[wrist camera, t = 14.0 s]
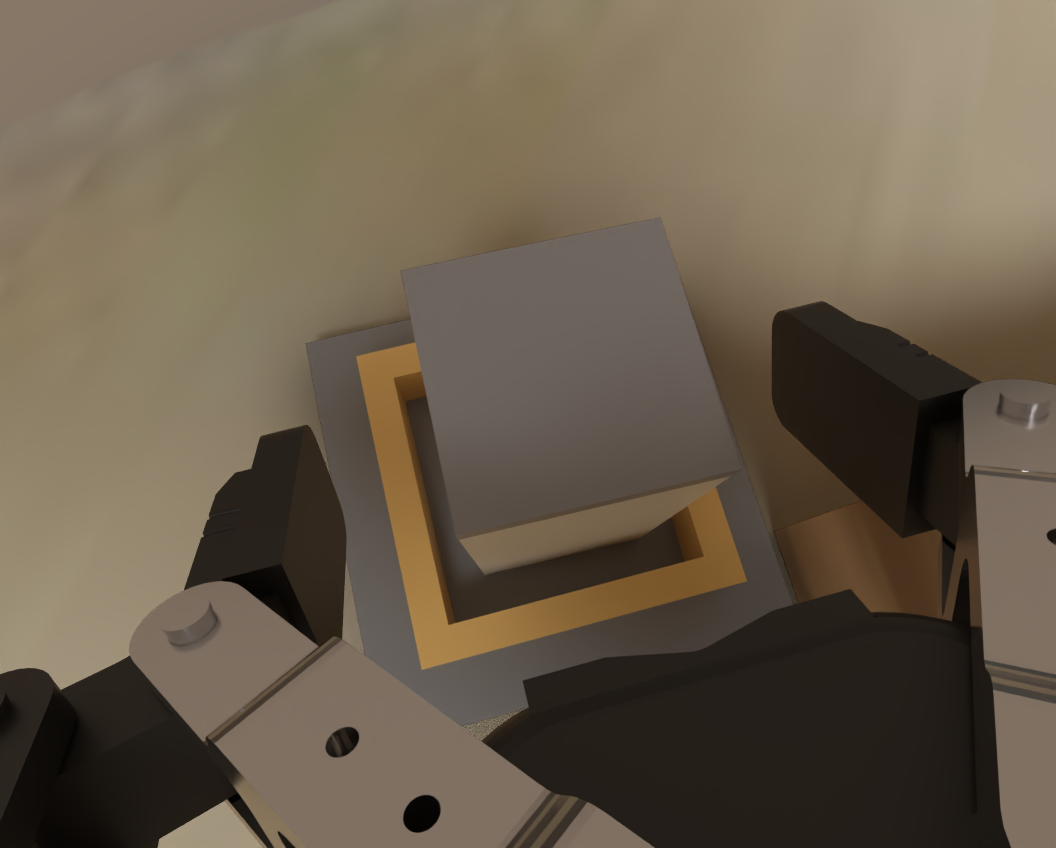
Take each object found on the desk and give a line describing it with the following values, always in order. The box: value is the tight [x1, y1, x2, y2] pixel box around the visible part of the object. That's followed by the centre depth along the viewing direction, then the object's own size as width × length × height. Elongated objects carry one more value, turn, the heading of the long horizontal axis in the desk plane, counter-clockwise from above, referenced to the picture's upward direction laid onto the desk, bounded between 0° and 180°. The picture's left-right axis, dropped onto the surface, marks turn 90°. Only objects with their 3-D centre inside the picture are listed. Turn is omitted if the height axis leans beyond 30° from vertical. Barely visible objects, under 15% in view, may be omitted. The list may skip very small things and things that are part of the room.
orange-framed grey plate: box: [306, 309, 793, 726], centre depth 19 cm, size 11×11×3 cm
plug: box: [401, 217, 741, 575], centre depth 15 cm, size 4×4×9 cm
